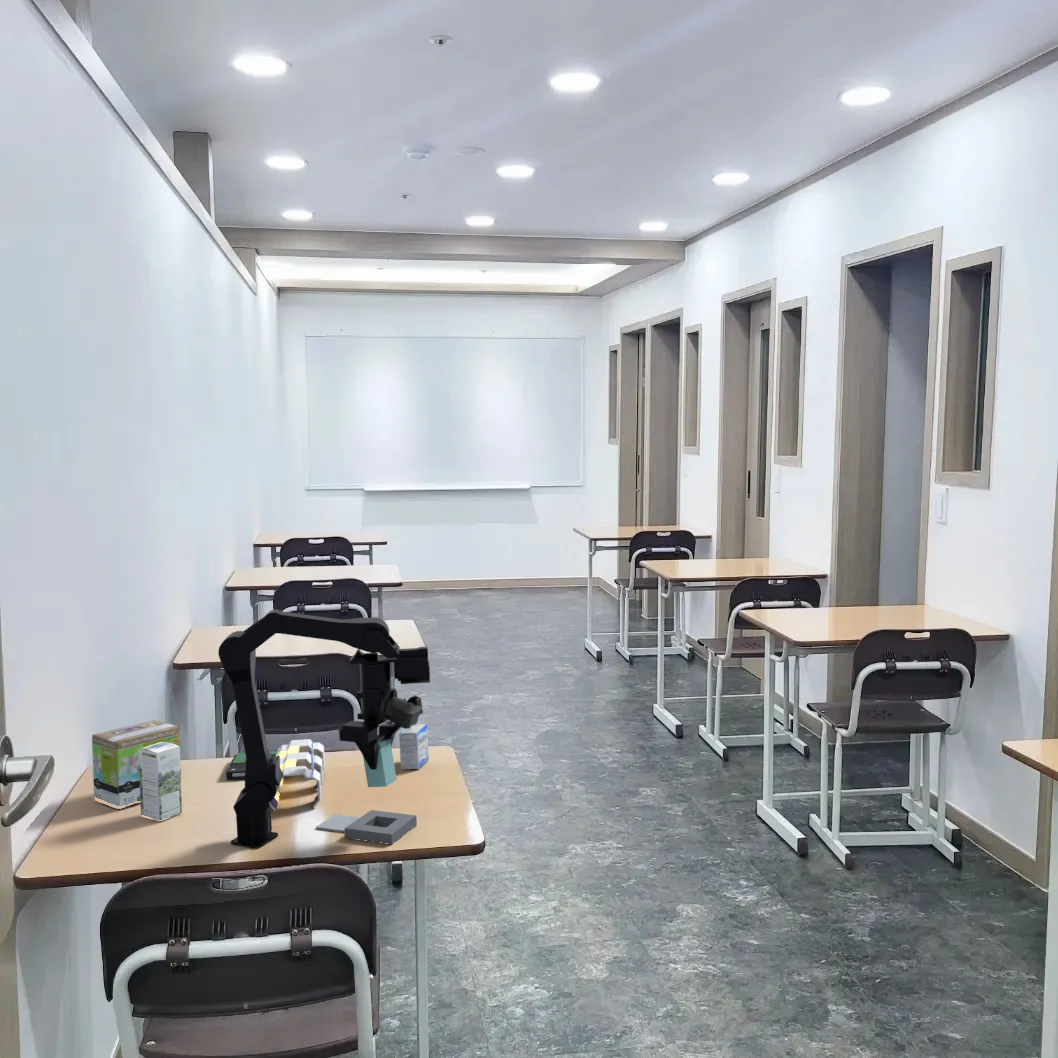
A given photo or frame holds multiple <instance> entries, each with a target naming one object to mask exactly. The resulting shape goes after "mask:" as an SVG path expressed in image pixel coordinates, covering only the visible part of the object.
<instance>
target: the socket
mask: <svg viewBox="0 0 1058 1058" xmlns="http://www.w3.org/2000/svg"><path fill="white" fill-rule="evenodd" d="M417 820H418V819H417V815H415V814H414V815H413V814H406V813H400V812H389V811H382V810H373V809H370V810H369V811H367V812H366V813H365V814H363V815H362V816H360V818H359V819H357V820H356V821H354V822H353V823H351V824H350V825H349V826H347V827H346V828H345V833H344V839H345V838H350V839H349V840H353V839H360V840H367V841H366V842H368V841H374V842H373V843H375V842H382V843H381V844H383V843H388V844H387V845H390V844H392V845H394V844H395V843H396V842H398V841H399V840H400V839H402V838H403V837H404V836H405V835H406V833H407V832H408V831H409V832H410V831H412V830H413V829H414V828H416V827H417V826H418V822H417ZM416 825H417V826H416ZM380 826H385V827H380ZM415 826H416V827H415ZM412 828H413V829H412ZM411 829H412V830H411ZM409 832H408V833H409ZM408 833H407V834H408ZM404 834H405V835H404ZM403 835H404V836H403ZM402 836H403V837H402ZM398 839H399V840H398ZM360 840H359V841H360ZM394 842H395V843H394ZM393 843H394V844H393Z"/></svg>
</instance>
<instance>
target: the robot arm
mask: <svg viewBox="0 0 1058 1058" xmlns="http://www.w3.org/2000/svg"><path fill="white" fill-rule="evenodd" d="M276 634H281V635H287V636H288V635H289V636H295V637H304V638H309V639H310V638H311V639H318V640H325V641H334V642H338V643H339V642H340V643H342V644H345V645H347V646H349V647H352V648H355V649H357V650H356V652H355V653H354V654H353V655H352V656H351V657H350V659H349V664H350V665H359V677H360V690H359V691H357V692H356V698H357V699H360V702H361V705H360V706H361V712H359V713H356V715H357V720H351V721H348V722H347V723H345V724H343V725H341V726H340V728H339V729H338V740H339V741H340V742H350V743H354V744H355V745H356V747H357V748H358V749H359V751H360V753H361V754H362V757H364V758H365V760H366V762H367V764H368V766H369V767H370V769H371V770H375V769H376V767H377V757H378V743H379V742H380V741H381V740H382V739H391V748H392V747H393V746H392V745H393V744H394V743H393V742H394V739H395V736H396V733H397V732H399V730H401V729H402V728H403V729H408V728H410V727H411V726H412V725H416V724H418V720H419V717H420V715H422V714H423V713H424V710H423V703H422V697H420V696H418V695H417V694H416V695H415V694H414V695H412V696H410V697H409V698H408V699H407V698H400V697H398V691H397V690H396V688H392V674H391V673H392V671H391V663H393V674H394V678H393V679H394V680H397V682H400V685H410V684H414V685H415V684H430V683H431V676H430V675H431V673H430V671H431V670H430V661H429V652H428V651H429V649H428V647H427V646H419V647H414V648H413V647H412V648H400V646H399V645H398V642H397V641H395V639H394V638H393V637H392V635H390V628H389V625H388V623H387V622H386V621H385V620H384V619H382V618H379V617H375V616H374V617H357V618H355V617H354V618H347V619H345V618H343V619H339V618H333V617H327V616H326V617H325V616H324V617H323V616H317V615H309V614H303V613H295V612H288V611H283V610H280V609H272V610H270V611H268V612H267V613H266V614H265V616H263V617H262V618H260V619H259V620H257V621H255V623H253V624H252V625H249V626H248V627H247V628H246V629H244V630H237V631H234V632H231V633H230V634H229V635H228V636H227V637H225V639H224V640H223V641H222V642H221V643H220V645H219V647H218V650H217V651H218V658H219V660H220V663H221V666H222V668H223V671H224V673H225V675H226V676H227V678H228V681H230V683H231V686H232V690H233V696H234V700H235V705H236V712H237V716H238V722H239V727H240V733H241V737H242V743H243V748H244V749H243V750H244V752H245V754H246V766H245V780H244V787H243V788H242V789H241V790H240V792H239V795H238V796H237V798H236V801H235V802H234V805H233V810H234V812H235V816H236V817H235V818H236V837H235V838H232V839H231V840H230V844H231V845H238V846H244V847H250V848H261V847H262V846H264V845H266V844H267V843H269V842H270V841H272V840H273V839H275V838H277V837H278V836H279V833H278V832H275V831H272V830H273V826H272V823H273V822H272V810H271V806H270V803H269V802H271V801H272V800H273V799H274V797H275V795H276V793H277V790H278V788H279V785H280V782H281V780H282V777H283V775H284V774H283V772H282V771H281V768H280V756H279V755H278V756H275V757H272V756H271V754H270V752H269V749H268V743H267V738H266V733H265V728H264V721H263V717H262V711H261V708H260V707H261V705H260V701H259V696H258V690H257V685H256V679H255V674H256V664H257V663H256V662H257V661H256V659H257V655H256V650H257V649H258V648H259V647H260V646H261V645H263V644H264V643H265V642H267V641H268V640H269V639H270V638H272V637H273V636H275V635H276ZM379 654H380V655H381V656H379ZM360 720H362V721H360Z"/></svg>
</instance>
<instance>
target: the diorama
mask: <svg viewBox="0 0 1058 1058" xmlns="http://www.w3.org/2000/svg"><path fill="white" fill-rule="evenodd" d="M276 750H277V754H276V756H278V755H279V756H280V768H281V771H282V772H283V774H284V775H283V777H282V780H281V782H280V785H279V788H278V790H277V793H276V795H275V797H274V799H273V800H272V801H271V802H269V803H270V808H271V809H272V810H273V812H274V811H275V812H277V810H278V809H277V808H278V805H279V800H280V797H279V796H280V795H281V793H282V788H283V785H284V779H285V777H292V776H293V777H296V776H303V777H305V779H306V780H314V781H316V787H315V792H316V791H318V792H317V794H316V796H315V797H314V798H313V808H314V807H317V805H318V804H319V803H320V801H321V797H322V786H323V781H324V770H325V766H326V765H325V760H326V759H325V746H324V745H323V744H322V743H320V741H319V742H314V741H312V739H310V738H305V739H294V740H293V739H291V740H290V741H289V743H288V744H282V745H281V746H280V747H278V749H276ZM317 770H318V771H317ZM280 792H281V793H280Z"/></svg>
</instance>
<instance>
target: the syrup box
mask: <svg viewBox="0 0 1058 1058" xmlns="http://www.w3.org/2000/svg"><path fill="white" fill-rule="evenodd" d="M138 754H139V777H140V801H141V803H140V816H141V815H144V816H148V817H151V818H153V819H157V820H162V819H165V818H168V817H172V816H174V817H176V816H175V815H177V814H179V815H181V814H180V813H183V808H182V807H183V804H182V803H183V802H182V800H183V799H182V771H181V772H180V760H181V746H180V747H179V746H178V745H175V744H172V743H168V742H159V743H156V744H153V745H150V746H147V747H144V748H141V749H139V750H138ZM177 816H178V815H177ZM172 818H173V817H172Z"/></svg>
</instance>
